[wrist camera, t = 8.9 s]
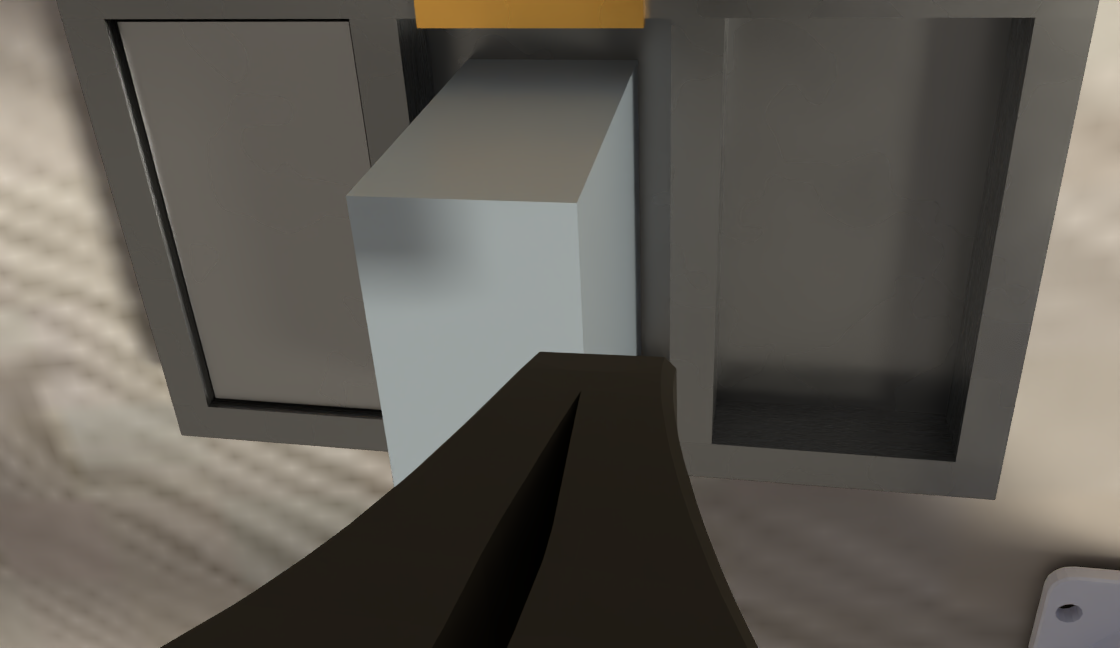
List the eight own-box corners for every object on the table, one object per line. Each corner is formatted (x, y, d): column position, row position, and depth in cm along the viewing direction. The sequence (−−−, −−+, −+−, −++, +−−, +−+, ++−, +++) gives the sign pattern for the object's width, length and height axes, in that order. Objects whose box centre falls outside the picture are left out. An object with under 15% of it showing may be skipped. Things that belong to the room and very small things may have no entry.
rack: (977, 439, 21) (995, 510, 19) (225, 387, 24) (178, 444, 22) (1075, -76, 16) (1113, -46, 14) (111, -59, 19) (38, -33, 17)
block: (468, 59, 18) (346, 195, 13) (637, 60, 18) (576, 203, 13) (497, 364, 22) (407, 568, 17) (641, 373, 21) (594, 586, 16)
